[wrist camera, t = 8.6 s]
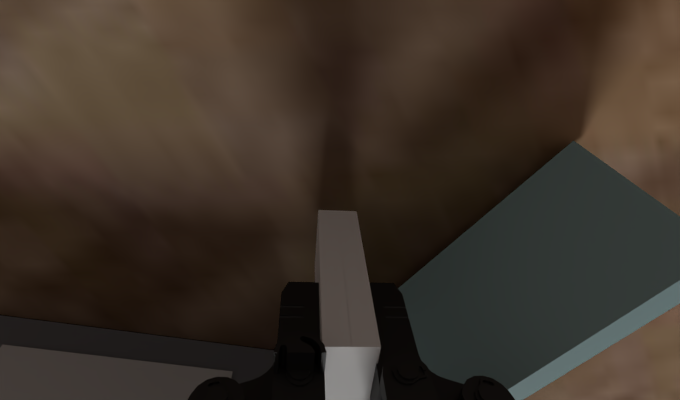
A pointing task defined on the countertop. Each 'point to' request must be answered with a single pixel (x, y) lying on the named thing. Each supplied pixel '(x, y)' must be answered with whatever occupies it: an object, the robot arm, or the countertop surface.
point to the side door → (547, 277)
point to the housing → (113, 363)
